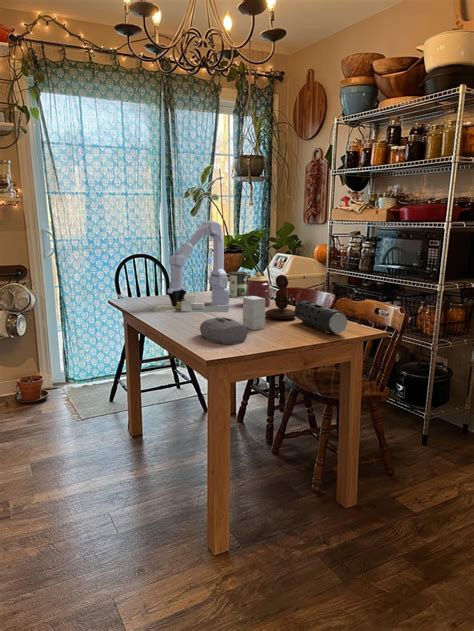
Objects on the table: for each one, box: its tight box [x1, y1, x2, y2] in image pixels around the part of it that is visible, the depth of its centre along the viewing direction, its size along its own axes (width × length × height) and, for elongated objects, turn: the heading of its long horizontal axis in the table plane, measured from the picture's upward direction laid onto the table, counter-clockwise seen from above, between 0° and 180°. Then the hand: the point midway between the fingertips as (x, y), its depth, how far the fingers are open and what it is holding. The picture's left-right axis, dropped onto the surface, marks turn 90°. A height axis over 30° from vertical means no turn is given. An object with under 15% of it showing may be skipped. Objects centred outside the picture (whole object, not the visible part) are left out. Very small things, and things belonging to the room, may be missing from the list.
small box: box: [242, 296, 266, 331], centre depth 207 cm, size 8×6×13 cm
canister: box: [246, 272, 271, 308], centre depth 256 cm, size 13×13×18 cm
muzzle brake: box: [294, 300, 348, 335], centre depth 206 cm, size 10×28×10 cm, turn 23°
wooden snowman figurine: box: [265, 274, 297, 321], centre depth 226 cm, size 15×15×20 cm
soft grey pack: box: [199, 317, 248, 345], centre depth 190 cm, size 15×8×20 cm
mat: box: [152, 304, 230, 313], centre depth 245 cm, size 37×16×1 cm, turn 89°
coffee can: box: [229, 271, 248, 299], centre depth 283 cm, size 10×10×14 cm
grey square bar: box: [181, 295, 196, 313], centre depth 245 cm, size 5×15×5 cm, turn 179°
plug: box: [174, 302, 205, 309], centre depth 245 cm, size 16×3×3 cm, turn 87°
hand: (177, 305), depth 245 cm, fingers open, 5 cm apart
